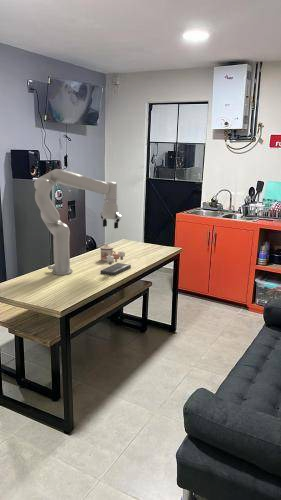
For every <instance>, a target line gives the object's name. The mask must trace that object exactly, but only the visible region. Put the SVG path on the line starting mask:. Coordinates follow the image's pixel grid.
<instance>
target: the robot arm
mask: <svg viewBox="0 0 281 500" xmlns="http://www.w3.org/2000/svg"><path fill="white" fill-rule="evenodd" d="M57 184H60V185H64V186H67V187H71V188H75V189H78V190H82V191H83V190H84V191H90V192H93V193H96V194H100V195H104V200H103V201H104V202H103V206H102V211H101V212H100V213H99V216H100V218H101V220H102V227H103V228H104V227H107V226H108V225H107V224H108V220H113V221H114V224H113V228H114V229H115V230H116V229H118V228H119V222H120V221H121V218H122V215H121V214H119V207H118V204H117V202H118V201H117V200H118V199H117V198H118V197H117V196H118V194H117V192H118V185H117V182H115V181H102V180H97V179H95V178H92V177H88V176H85V175H82V174H79V173H76V172H72V171H69V170H65V169H61V168H60V169H59V168H55V169H53V170H50V171H49V172H47V173H45V174H43V175H42V176H39V177H38V178H36V179H35V180H34V183H33V186H34V189H35V192H34V200H35V203H36V205H37V207H38V209H39V210H40V217H41V219H42V221H43V223H44V224H45V226H46V228H47V230H49V232H50V234H52V235H53V262H54V265H47V269H48V270H52V272H51V273H52V274H53V275H56V276H65V275H66V276H67V275H70V274H72V273H73V271H74V270H73V269H72V268H71V259H70V235H71V231H70V228H69V226H68V225H67V224H66V223H65V222H62V220H61V219H60V218H61V215H60V213H59V211H58V209H57V208H56V206H55V204H54V203H53V201H52V199H51V197H50V195H51V191H52V189H53V187H54V186H56V185H57Z"/></svg>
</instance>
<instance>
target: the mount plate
mask: <svg viewBox="0 0 281 500" xmlns="http://www.w3.org/2000/svg"><path fill="white" fill-rule="evenodd" d="M131 266H132V265H131V264H127V263H121V262H115V264H112V265H109V266H108V267H105V268H103V269H100V274H101V275H108V276H113V277H115V276H117V275H119V274H121V273H124V272H125V271H127V270H129V269H131V268H132V267H131Z"/></svg>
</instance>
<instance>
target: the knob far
mask: <svg viewBox="0 0 281 500" xmlns="http://www.w3.org/2000/svg"><path fill="white" fill-rule="evenodd" d="M117 253H118V254H119V260H120V261H123V260H124V258H125V256H126V252H125V251H124V250H121V251H120V250H119V251H118V252H117Z"/></svg>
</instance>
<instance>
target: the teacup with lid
mask: <svg viewBox="0 0 281 500" xmlns="http://www.w3.org/2000/svg"><path fill="white" fill-rule="evenodd" d="M114 253H117V252H116V251H115V250H114V247H113V246H112V245H109V244H108V243H105V244H104V245H103V246H100V261H102V262H108V261H107V256H113V254H114Z"/></svg>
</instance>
